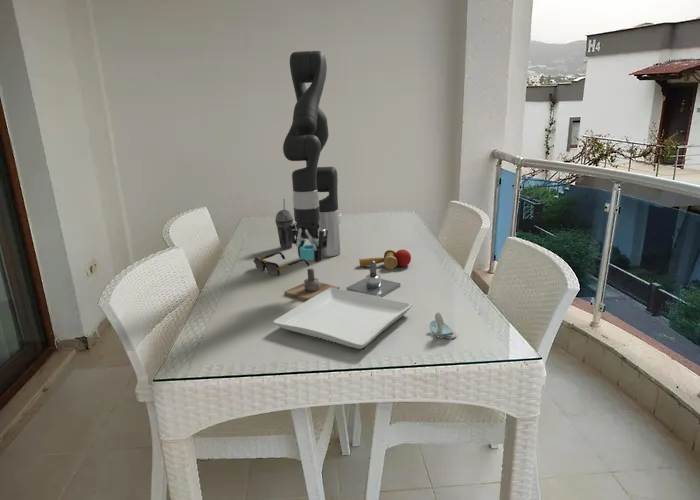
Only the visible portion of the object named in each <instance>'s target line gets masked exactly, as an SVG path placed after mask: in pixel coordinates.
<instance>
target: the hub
mask: <svg viewBox="0 0 700 500" xmlns="http://www.w3.org/2000/svg"><path fill="white" fill-rule="evenodd" d="M400 287H401V282H398V281H397V282H396V281H393V280H388V279H384V278H381V274H377V264H376V262H375V261H371V262H370V265H369V274H367V275H366V277H365V278H363V279H361V280H359V281H357V282H355V283H353V284H351V285H349V286H347V287H346V290H347V291H353V292H359V293H364V294H369V295H374V296H378V297H384V296H386V295H387V294H390V293H391V292H393V291H395V290H396V289H398V288H400Z"/></svg>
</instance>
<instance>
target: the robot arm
mask: <svg viewBox="0 0 700 500" xmlns="http://www.w3.org/2000/svg"><path fill="white" fill-rule="evenodd" d="M327 68H328V67H327V58H326V55H325V54H324V52H323V51H320V50H304V51H293V52H292V53H291V54H290V56H289V70H290V74H291V75H290V76H291V81H292V85H293V88H294V89H293V90H294V93H295V99H296V103H295V105H294V109H293V115H292V124H291V126H290V128H289V130H288V133H287V134H286V136H285V139H284V142H283V145H282V152H283V155H284V157H285V158H286V159H287V160H288V161H291V162H302V161H303V162H305V165H306V166H305V167H303V168H298V169H295V170H294V171H292V174H291V180H292V191H293V192H292V205H293V221H294V222H293V224H291V225H289V230H290V235H291V240H292V245H296V246H295V247H297V254H298V255H297V256H298V258H299V259H300V246H303V245H306V244H305V243H306V240H308V241H309V244H312V245H313V248H314V260H313V261H314V263H319V262H321V261H322V258H323V257H325V258H327V257H329V258H330V257H335V256H338V255H340V254H341V240H340V239H341V236H340V224H339V214H338V212H339V201H338V200H339V199H338V198H339V197H338V180H339V179H338V170H337V168H336V167H335V166H318V165H319V159H320V155H321V152H322V150H323V149H324V148H325V145H326V144H327V142H328V139H329V127H328V126H329V124H328V118H327V116H326V114H325V112H324V111H323V110H322V108H321V107H320V102H321V99H322V95H323V91H324V87H325V82H326V78H327ZM307 83H309V84H310V85H309V86H308V88H307V86H306V84H307ZM319 193H328V195H327V196H326V197H324V198H322V199H320V198H319V197H320V196H319ZM317 245H318V246H317Z"/></svg>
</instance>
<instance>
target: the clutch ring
mask: <svg viewBox="0 0 700 500" xmlns="http://www.w3.org/2000/svg"><path fill="white" fill-rule="evenodd" d="M317 246H318V245H317ZM301 259H304V260H307V261H314V248H313V245H312V244H311V243H309V244H304V245H303V246H300V258H299V260H301Z"/></svg>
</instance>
